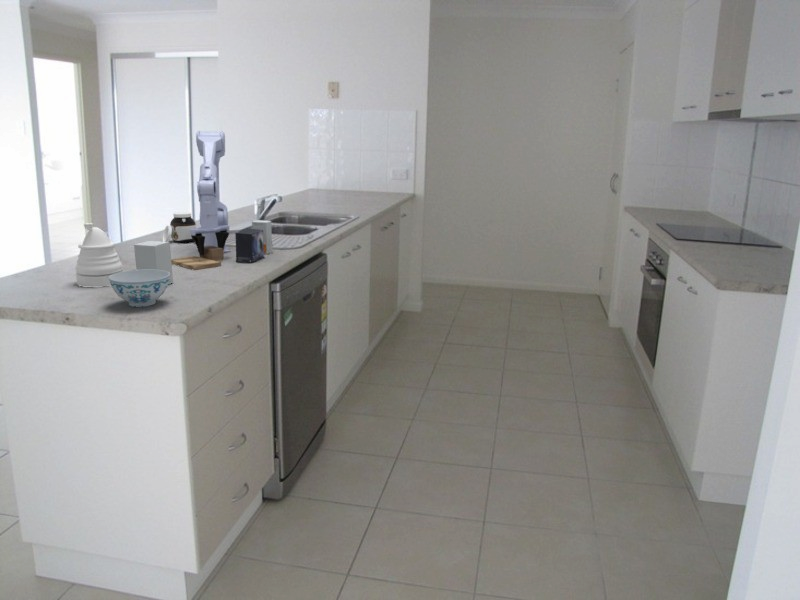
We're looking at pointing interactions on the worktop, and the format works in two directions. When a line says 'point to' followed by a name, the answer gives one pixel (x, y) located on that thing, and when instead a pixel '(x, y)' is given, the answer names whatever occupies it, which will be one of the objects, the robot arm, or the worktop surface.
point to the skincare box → (264, 234)
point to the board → (195, 262)
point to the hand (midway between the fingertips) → (211, 253)
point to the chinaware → (140, 285)
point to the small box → (249, 245)
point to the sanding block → (213, 253)
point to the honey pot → (96, 259)
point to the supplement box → (154, 256)
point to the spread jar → (180, 228)
